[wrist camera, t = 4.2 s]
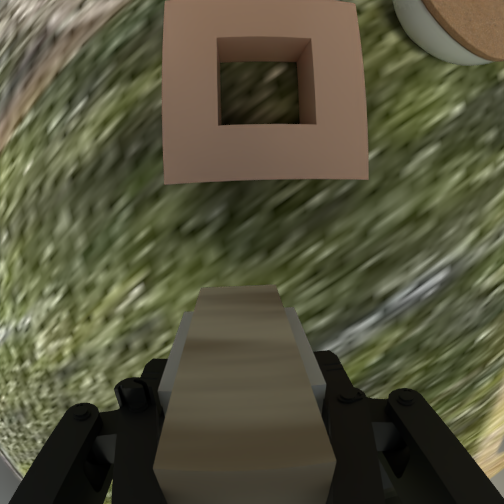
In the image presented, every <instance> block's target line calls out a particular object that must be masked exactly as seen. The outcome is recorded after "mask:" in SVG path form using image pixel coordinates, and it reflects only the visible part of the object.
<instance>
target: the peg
mask: <svg viewBox="0 0 504 504" xmlns="http://www.w3.org/2000/svg"><path fill="white" fill-rule="evenodd" d="M335 465H336V458H335V455H334V452H333V449H332V446H331V443H330V440H329V437H328V434H327V431H326V428H325V425H324V422H323V420H322V417H321V414H320V411H319V408H318V405H317V402H316V399H315V396H314V393H313V390H312V387H311V384H310V382H309V379H308V376H307V373H306V370H305V367H304V364H303V361H302V358H301V356H300V353H299V350H298V347H297V344H296V341H295V338H294V335H293V333H292V330H291V327H290V324H289V321H288V318H287V315H286V313H285V310H284V307H283V304H282V301H281V298H280V296H279V293H278V290H277V287H276V285H255V286H232V287H206V288H201V289H200V292H199V296H198V299H197V302H196V306H195V309H194V313H193V316H192V320H191V323H190V327H189V330H188V334H187V337H186V341H185V345H184V348H183V352H182V355H181V359H180V363H179V366H178V370H177V374H176V378H175V381H174V385H173V389H172V393H171V397H170V400H169V404H168V408H167V412H166V416H165V420H164V424H163V428H162V432H161V436H160V440H159V444H158V448H157V453H156V457H155V461H154V465H153V470H154V473H155V475H156V478H157V480H158V483H159V485H160V488H161V490H162V492H163V495H164V497H165V499H166V502H167V504H326V501H327V498H328V494H329V490H330V486H331V482H332V478H333V474H334V470H335Z"/></svg>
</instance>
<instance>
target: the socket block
mask: <svg viewBox="0 0 504 504" xmlns="http://www.w3.org/2000/svg"><path fill="white" fill-rule="evenodd" d="M223 62H297V77H298V96H299V119H300V124H245V125H222V120H221V78H220V63H223ZM162 136H163V165H164V185H168V184H182V183H198V182H216V181H239V180H272V179H360V180H369V166H368V127H367V108H366V92H365V80H364V68H363V58H362V49H361V41H360V33H359V25H358V18H357V12H356V5H355V3H349V2H342V1H335V0H170V1H165V9H164V27H163V53H162Z"/></svg>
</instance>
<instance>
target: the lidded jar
mask: <svg viewBox="0 0 504 504" xmlns="http://www.w3.org/2000/svg"><path fill="white" fill-rule="evenodd" d="M393 5H394V10H395V13H396V16H397V18H398V20H399V22H400V24H401V26H402V28H403V29H404V31H405V33H406V34H407V35H408V37H409V38H410V39H411V40H412V41H413V42H414V43H415V44H417V45H418V46H419V47H421V48H422V49H423V50H425V51H426V52H427V53H429V54H431V55H432V56H434V57H436V58H438V59H440V60H442V61H445V62H448V63H452V64H456V65H465V66H472V65H484V64H488V63H492V62H498V61H504V0H393Z"/></svg>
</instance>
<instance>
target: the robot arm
mask: <svg viewBox="0 0 504 504" xmlns="http://www.w3.org/2000/svg"><path fill="white" fill-rule="evenodd" d="M284 310H285V313H286V315H287V318H288V321H289V324H290V327H291V330H292V333H293V335H294V338H295V341H296V344H297V347H298V350H299V353H300V356H301V358H302V361H303V364H304V367H305V370H306V373H307V376H308V379H309V382H310V384H311V387H312V390H313V393H314V396H315V399H316V402H317V405H318V408H319V411H320V414H321V417H322V420H323V422H324V425H325V428H326V431H327V434H328V437H329V440H330V443H331V446H332V449H333V452H334V455H335V458H336V465H335V470H334V474H333V478H332V482H331V486H330V490H329V494H328V498H327V501H326V504H504V498H503V497H502V496H501V494H500V493H499V492H498V490H497V489H496V488H495V486H494V485H493V484H492V482H491V481H490V480H489V478H488V477H487V476H486V475H485V473H484V472H483V471H482V469H481V468H480V467H479V466H478V464H477V463H476V462H475V460H474V459H473V458H472V457H471V455H470V454H469V453H468V452H467V450H466V449H465V448H464V447H463V445H462V444H461V443H460V442H459V440H458V439H457V438H456V437H455V435H454V434H453V433H452V432H451V430H450V429H449V428H448V427H447V425H446V424H445V423H444V422H443V421H442V419H441V418H440V417H439V416H438V414H437V413H436V412H435V411H434V410H433V408H432V407H431V406H430V405H429V404H428V402H427V401H426V400H425V399H424V398H423V396H422V395H421V394H420V393H418V392H417V391H415V390H412V389H407V388H401V389H396V390H394V391H392V392H391V393H390V394H389V397H388V399H372V398H367V397H366V395H365V393H364V392H363V391H361V390H360V389H358V388H355V387H353V385H352V383H351V381H350V379H349V377H348V376H347V374H346V372H345V370H344V369H343V366H342V364H341V362H340V360H339V359H338V357H337V355H335V354H334V353H332V352H331V351H330V350H327V351H317V352H313V351H312V349H311V346H310V344H309V341H308V339H307V337H306V334H305V332H304V330H303V327H302V325H301V322H300V320H299V318H298V315H297V313H296V311H295V308H294V307H289V308H284ZM193 313H194V312H184V314H183V317H182V320H181V323H180V325H179V328H178V331H177V334H176V337H175V340H174V343H173V346H172V349H171V352H170V355H169V358H168V359H152V360H151V361H150V362H148V363H147V364H146V365H145V368H144V370H143V373H142V375H141V377H140V378H139V377H133V378H127V379H124V380H122V381H120V382H119V383H118V384H117V385H116V386H115V388H114V391H115V394H116V397H117V400H118V403H119V407H120V409H118V410H114V411H108V412H100V413H99V411H98V408H97V407H96V406H95V405H93V404H90V403H79V404H75V405H74V406H72V407H70V408H69V409H68V410H67V411H66V413H65V414H64V416H63V417H62V419H61V420H60V422H59V423H58V425H57V426H56V428H55V429H54V431H53V432H52V434H51V435H50V437H49V438H48V440H47V441H46V443H45V445H44V446H43V448H42V449H41V451H40V452H39V454H38V456H37V457H36V459H35V460H34V462H33V463H32V465H31V467H30V468H29V470H28V472H27V473H26V475H25V477H24V478H23V480H22V481H21V483H20V485H19V486H18V488H17V490H16V492H15V493H14V495H13V497H12V498H11V500H10V502H9V504H103V503H104V500H105V497H106V495H107V492H108V489H109V487H110V484H111V481H112V479H113V484H112V503H111V504H167V502H166V499H165V497H164V495H163V492H162V490H161V488H160V485H159V483H158V480H157V478H156V475H155V473H154V470H153V465H154V461H155V457H156V453H157V448H158V444H159V440H160V436H161V432H162V428H163V424H164V420H165V416H166V412H167V408H168V404H169V400H170V397H171V393H172V389H173V385H174V381H175V378H176V374H177V370H178V366H179V363H180V359H181V355H182V352H183V348H184V345H185V341H186V337H187V334H188V330H189V327H190V323H191V320H192V316H193Z"/></svg>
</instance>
